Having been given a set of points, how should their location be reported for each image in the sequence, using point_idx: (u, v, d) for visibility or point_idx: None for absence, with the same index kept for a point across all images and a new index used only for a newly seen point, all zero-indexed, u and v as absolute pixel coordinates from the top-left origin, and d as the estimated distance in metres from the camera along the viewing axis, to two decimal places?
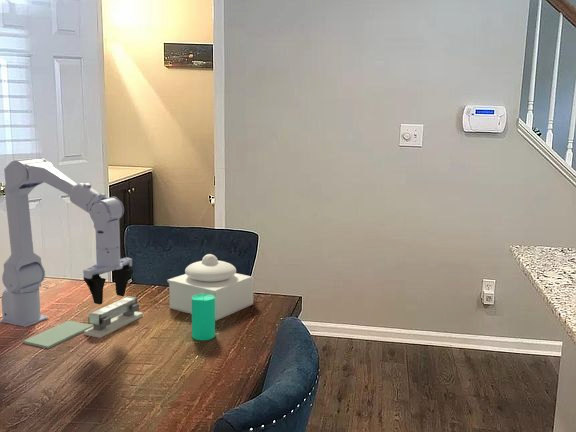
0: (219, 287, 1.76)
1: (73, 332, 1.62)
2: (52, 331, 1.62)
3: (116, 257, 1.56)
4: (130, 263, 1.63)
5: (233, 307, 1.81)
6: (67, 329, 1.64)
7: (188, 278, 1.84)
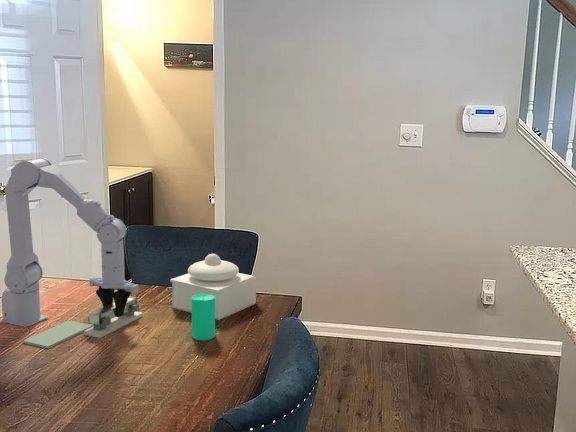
0: (222, 287, 1.76)
1: (73, 332, 1.62)
2: (52, 331, 1.62)
3: (106, 276, 1.64)
4: (131, 290, 1.64)
5: (236, 307, 1.81)
6: (67, 329, 1.64)
7: (191, 278, 1.84)
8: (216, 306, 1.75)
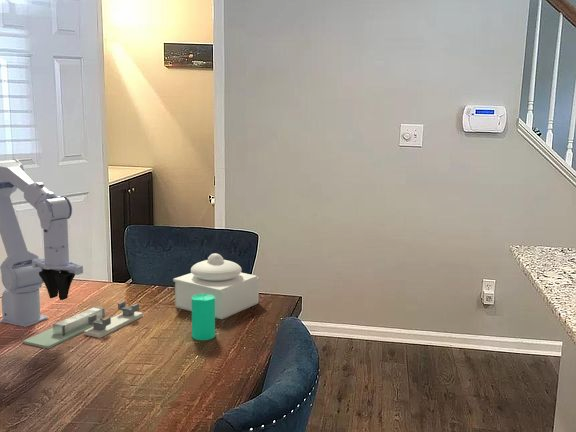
0: (224, 286, 1.77)
1: (73, 332, 1.62)
2: (52, 331, 1.62)
3: (48, 256, 1.55)
4: (75, 271, 1.55)
5: (238, 306, 1.82)
6: None
7: (194, 277, 1.85)
8: (219, 305, 1.75)
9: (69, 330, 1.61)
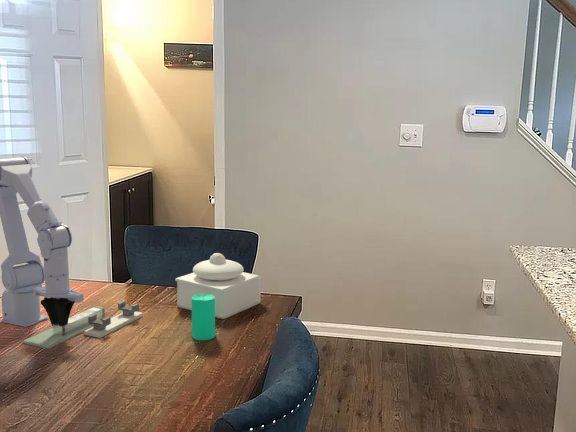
0: (226, 286, 1.77)
1: (73, 332, 1.62)
2: (52, 331, 1.62)
3: (49, 285, 1.56)
4: (76, 299, 1.56)
5: (240, 306, 1.82)
6: None
7: (196, 277, 1.85)
8: (221, 305, 1.76)
9: (69, 330, 1.61)
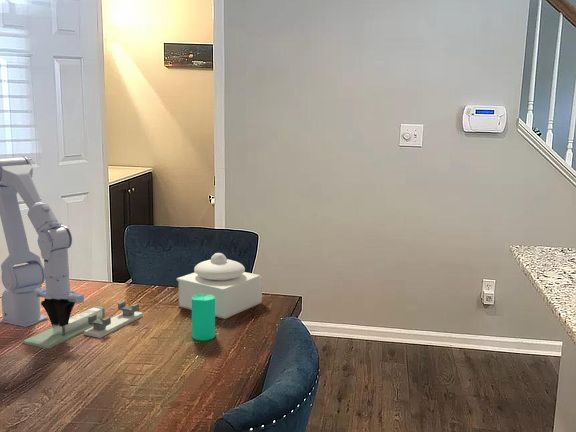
0: (228, 286, 1.77)
1: (73, 332, 1.62)
2: (52, 331, 1.62)
3: (49, 286, 1.56)
4: (76, 300, 1.56)
5: (242, 305, 1.82)
6: None
7: (197, 277, 1.85)
8: (222, 305, 1.76)
9: (69, 330, 1.61)
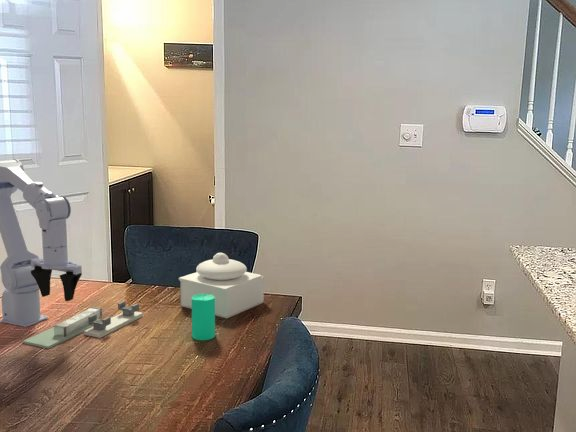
0: (229, 285, 1.78)
1: (73, 332, 1.62)
2: (52, 331, 1.62)
3: (47, 256, 1.55)
4: (74, 271, 1.55)
5: (243, 305, 1.82)
6: None
7: (199, 276, 1.86)
8: (224, 304, 1.76)
9: (70, 331, 1.61)
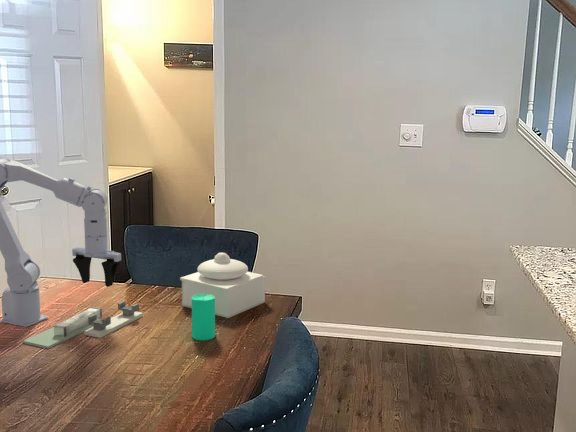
0: (231, 285, 1.78)
1: (73, 332, 1.62)
2: (52, 331, 1.62)
3: (89, 245, 1.67)
4: (114, 258, 1.67)
5: (245, 305, 1.83)
6: None
7: (200, 276, 1.86)
8: (225, 304, 1.76)
9: (70, 331, 1.61)
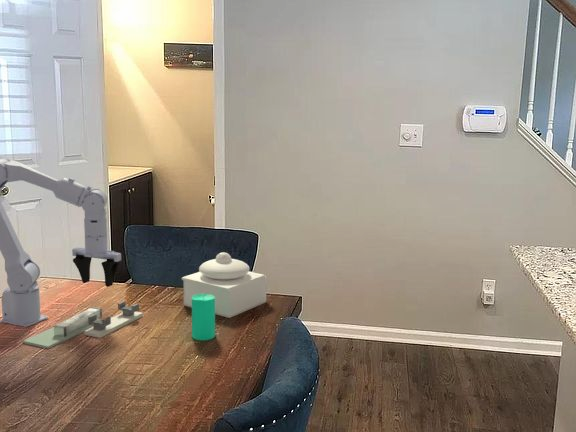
0: (232, 285, 1.78)
1: (73, 332, 1.62)
2: (52, 331, 1.62)
3: (89, 245, 1.67)
4: (114, 258, 1.67)
5: (246, 305, 1.83)
6: None
7: (202, 276, 1.86)
8: (227, 304, 1.77)
9: (70, 331, 1.61)
